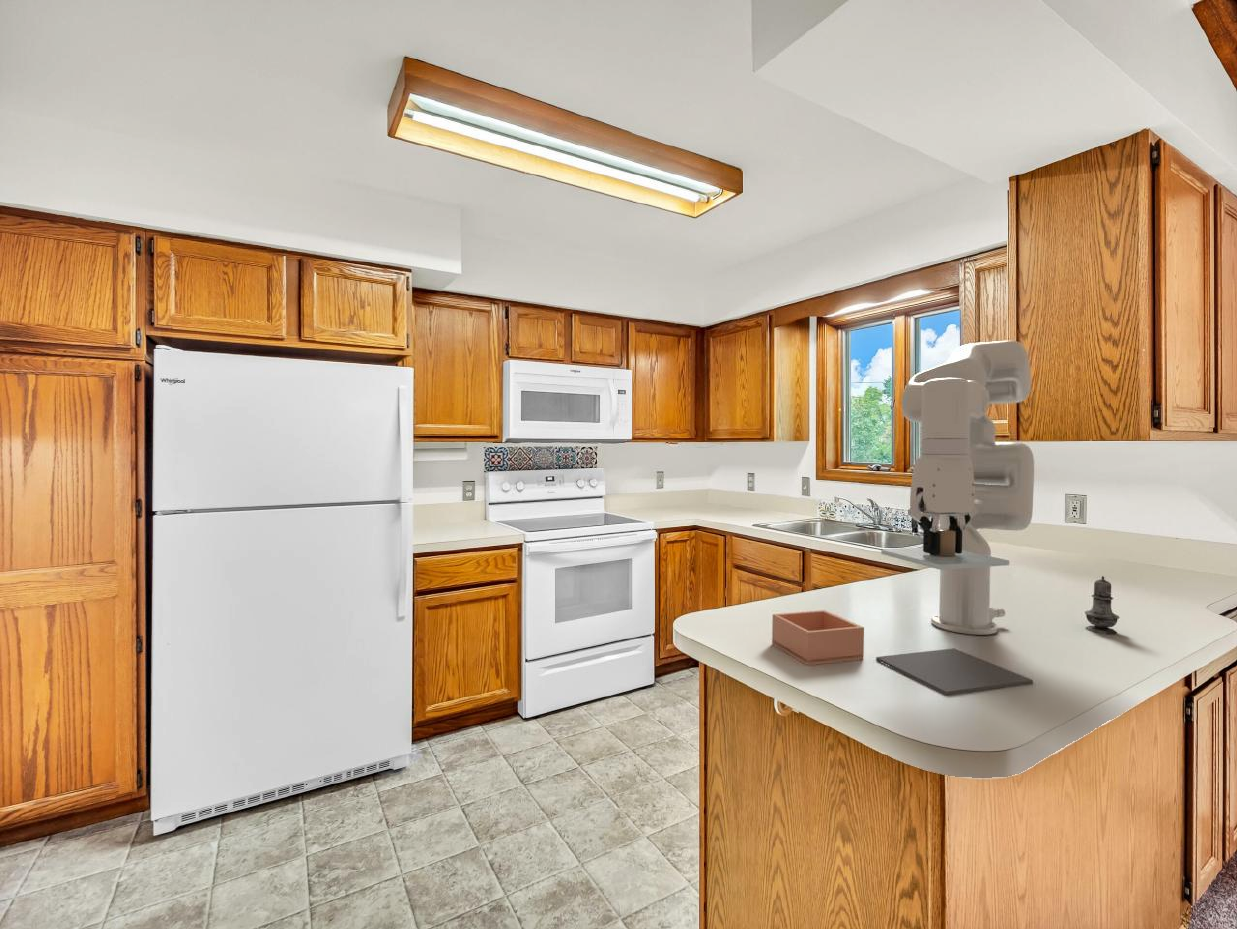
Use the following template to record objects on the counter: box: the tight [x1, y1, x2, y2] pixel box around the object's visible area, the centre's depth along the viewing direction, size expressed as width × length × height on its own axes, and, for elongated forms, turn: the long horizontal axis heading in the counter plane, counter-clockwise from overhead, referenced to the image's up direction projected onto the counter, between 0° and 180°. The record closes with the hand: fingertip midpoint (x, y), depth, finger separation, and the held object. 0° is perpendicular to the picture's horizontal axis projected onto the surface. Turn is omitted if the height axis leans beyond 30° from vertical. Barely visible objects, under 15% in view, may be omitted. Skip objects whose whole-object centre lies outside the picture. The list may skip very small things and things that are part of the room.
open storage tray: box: [771, 609, 865, 667], centre depth 113 cm, size 12×12×6 cm
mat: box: [875, 647, 1034, 696], centre depth 104 cm, size 18×16×1 cm
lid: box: [881, 527, 1010, 570], centre depth 104 cm, size 14×14×6 cm
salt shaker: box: [1084, 575, 1120, 635], centre depth 127 cm, size 6×6×12 cm
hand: (942, 551), depth 104 cm, fingers closed on lid, 4 cm apart
